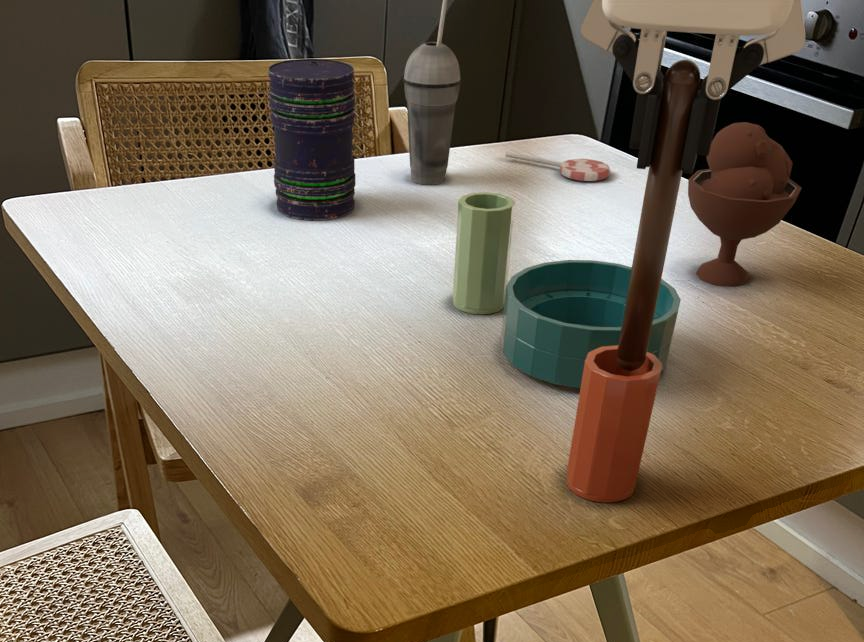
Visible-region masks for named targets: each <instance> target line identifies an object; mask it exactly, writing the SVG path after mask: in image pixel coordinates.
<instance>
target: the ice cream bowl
mask: <svg viewBox="0 0 864 642" xmlns="http://www.w3.org/2000/svg"><path fill="white" fill-rule="evenodd" d="M705 159H706V162H707V164H708V168H704V169H700V170H699V169H698V170H697V171H695V172H694V174H692V175H691V176H690V177H689V178H688V181H687V196H688V201H689V206H690V208H691V210H692V211H693V213H694V214H695V216H696V218H697V220H698V221H700V223H701V224H702V225H703V226H704V227H705V228H706V229H708V230H709V232H710V233H712V234H713V235H715V236H717V237H719V239H720V247H719V252H718V255H717V257H716V258H714V259H711V260H708V261H706V262H703V263H701V265H700V266H699V267H698V268H697V270H696V271H695V273H694V274H695V275H696V276H697V278H699V280H701V281H702V282H706V283H709V284H711V285H714V286H723V287H724V286H725V287H734V286H740V285H744V284H746V282H747V281H748V280H749V272H748V271H747V270H746V269H745V268H744V267H743V266H742V265H741V264H739V263H738V262H737V261H735V260H736V254H737V251H738V246H739V244H740V243H741V241H743V240H748V239H752V238H756V237H759V236H761V235H763V234H765V233H767V232H769V231H770V230H771V229H773V228H774V227H776V226H778V225H779V224H780V223H781V221H782V220H783V219H784V217H786V215H787V214H788V212H789V211H790V210H791V209H792V207H793V206H794V204H795V203H796V201H797V199H798V197H799V195H800V192H801V190H802V186H800V185H799V184H797V183H796V182H795V181H794V180H792V179H791V178H790V177H791V173H792V168H793V164H794V163H793V161H792V160H791V157H790V156H789V155H788V153H787V152H786V150H785V149H784V148H783V146H782V145H781V144H779V143H778V142H776V141H775V140H774V139H772V138H770V137H769V135H768V134H767V133H766V130H765V129H764V128H763V127H762V126H760V124H755V123H751V122H747V121H746V122H745V121H742V122H733V123H731V124H729V125H726V126H725V127H723V128H722V129H720V130H719V131H718V132H717V133H716V134H715V136H714V137H713V138H712V143H711V148H710V152H709V156H706V158H705Z"/></svg>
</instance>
